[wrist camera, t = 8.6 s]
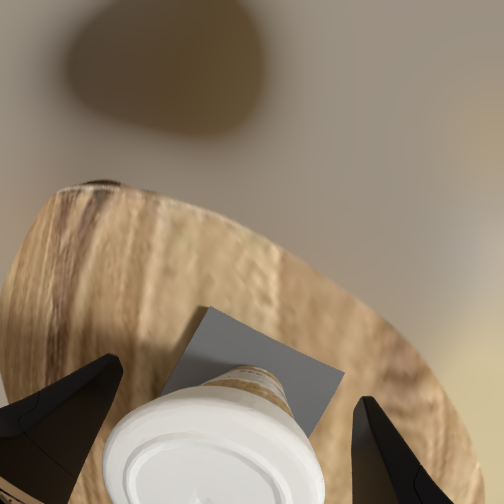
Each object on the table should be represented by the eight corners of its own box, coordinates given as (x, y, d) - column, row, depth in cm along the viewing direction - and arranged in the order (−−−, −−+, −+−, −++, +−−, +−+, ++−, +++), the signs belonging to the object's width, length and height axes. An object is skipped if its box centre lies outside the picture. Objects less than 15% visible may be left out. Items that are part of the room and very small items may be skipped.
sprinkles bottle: (207, 420, 15) (91, 523, 3) (223, 357, 17) (108, 360, 4) (276, 436, 15) (289, 582, 2) (293, 372, 16) (361, 423, 4)
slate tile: (284, 466, 15) (285, 471, 14) (161, 400, 17) (155, 402, 16) (341, 372, 17) (344, 372, 16) (213, 308, 19) (210, 305, 18)
